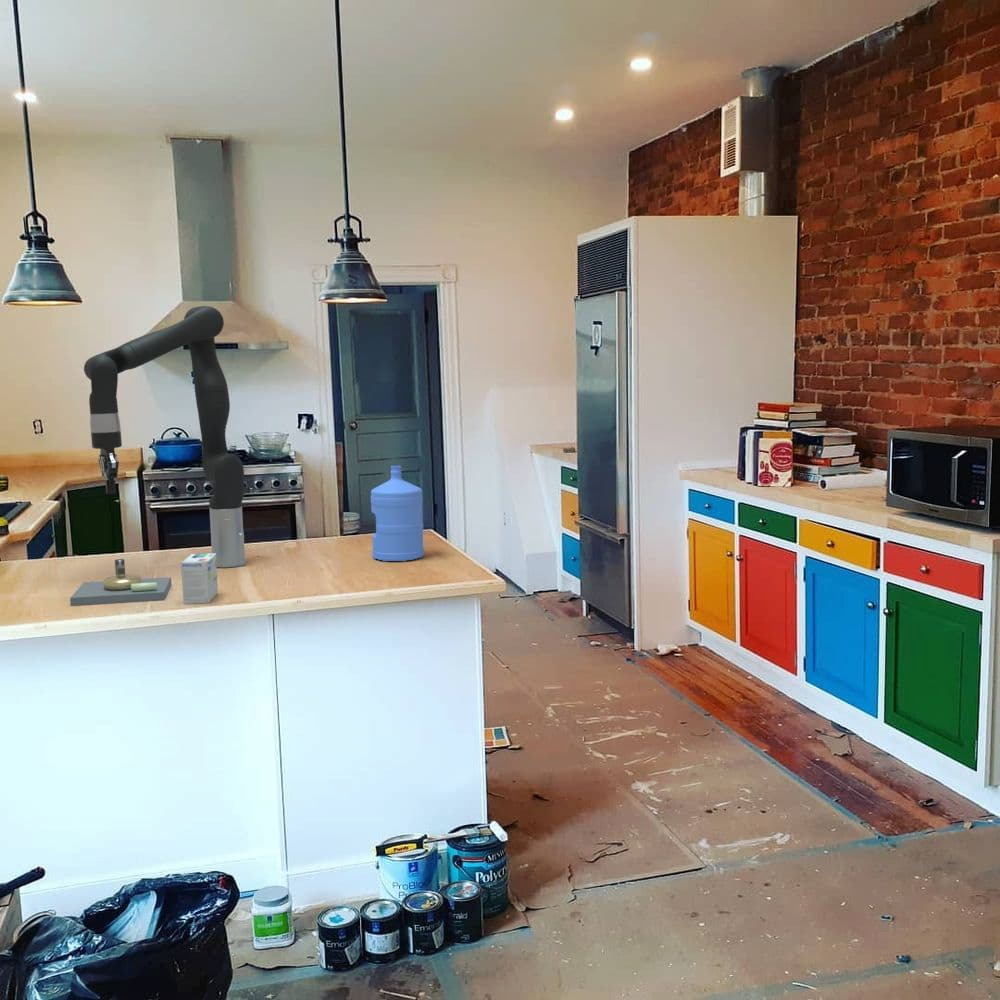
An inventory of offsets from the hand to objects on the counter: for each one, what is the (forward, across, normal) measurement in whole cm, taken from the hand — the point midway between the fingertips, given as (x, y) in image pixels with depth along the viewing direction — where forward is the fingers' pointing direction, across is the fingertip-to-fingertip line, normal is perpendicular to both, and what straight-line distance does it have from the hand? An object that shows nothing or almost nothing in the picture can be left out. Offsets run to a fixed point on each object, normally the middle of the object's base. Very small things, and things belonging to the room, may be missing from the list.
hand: (111, 493), depth 264 cm
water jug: (+26, -20, -77) cm, 84 cm away
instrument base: (+24, -20, +3) cm, 31 cm away
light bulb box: (+24, -36, -12) cm, 45 cm away
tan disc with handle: (+22, -15, +3) cm, 27 cm away
